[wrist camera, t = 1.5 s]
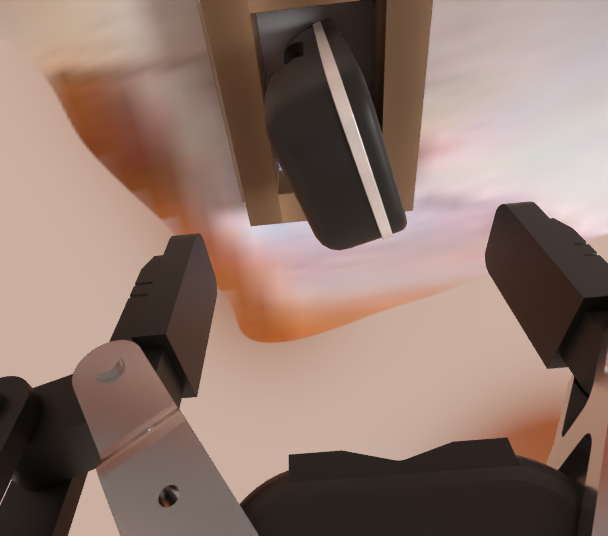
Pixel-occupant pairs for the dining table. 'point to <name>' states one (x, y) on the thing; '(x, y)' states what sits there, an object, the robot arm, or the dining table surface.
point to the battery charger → (332, 141)
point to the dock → (252, 87)
